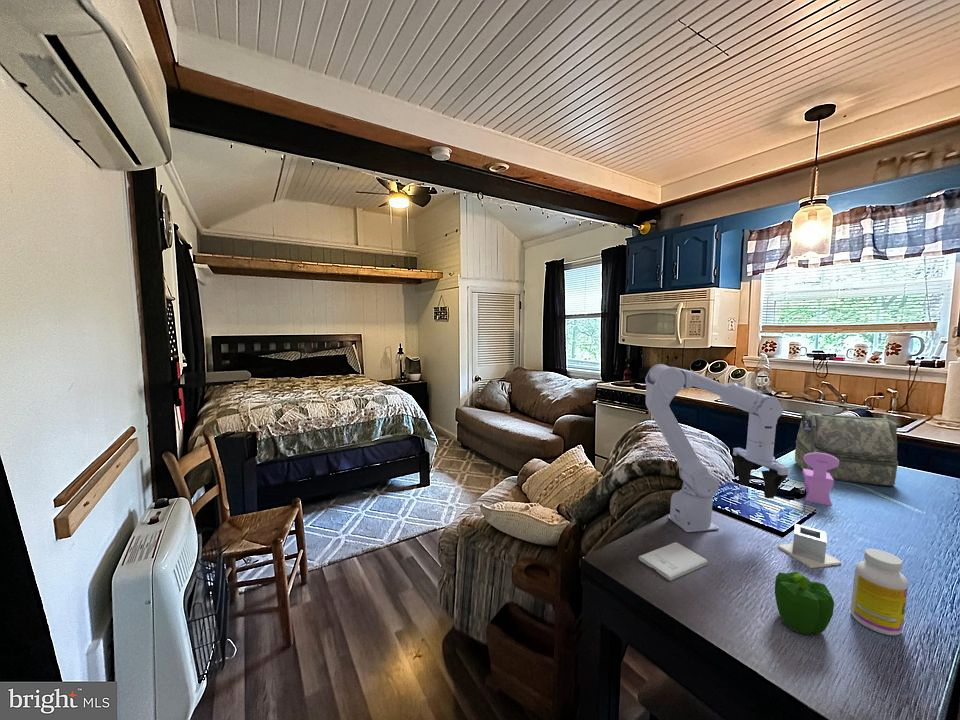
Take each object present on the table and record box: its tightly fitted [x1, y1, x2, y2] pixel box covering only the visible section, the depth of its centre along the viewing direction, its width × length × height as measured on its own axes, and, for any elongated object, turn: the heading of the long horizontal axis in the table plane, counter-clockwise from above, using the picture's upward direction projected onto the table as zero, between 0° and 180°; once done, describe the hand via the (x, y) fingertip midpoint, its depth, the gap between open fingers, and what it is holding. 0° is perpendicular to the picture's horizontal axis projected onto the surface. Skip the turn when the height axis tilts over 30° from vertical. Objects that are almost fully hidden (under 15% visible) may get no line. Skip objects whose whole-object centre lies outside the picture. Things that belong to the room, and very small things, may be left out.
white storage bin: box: [792, 523, 828, 563], centre depth 90 cm, size 6×6×5 cm
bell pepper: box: [774, 571, 835, 635], centre depth 70 cm, size 8×8×10 cm
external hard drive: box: [638, 541, 709, 582], centre depth 88 cm, size 2×8×12 cm
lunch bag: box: [794, 410, 899, 486], centre depth 137 cm, size 26×18×22 cm
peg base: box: [777, 534, 842, 569], centre depth 90 cm, size 8×8×5 cm
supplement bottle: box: [850, 548, 909, 636], centre depth 70 cm, size 7×7×13 cm
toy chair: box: [802, 452, 839, 506], centre depth 120 cm, size 8×9×15 cm
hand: (756, 491), depth 102 cm, fingers open, 7 cm apart
